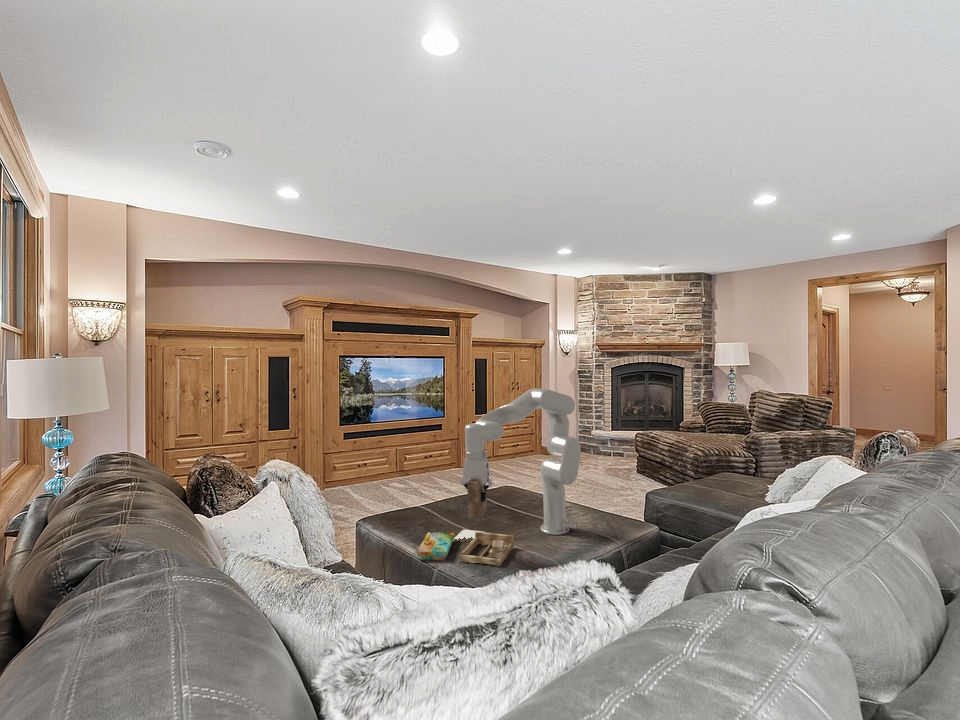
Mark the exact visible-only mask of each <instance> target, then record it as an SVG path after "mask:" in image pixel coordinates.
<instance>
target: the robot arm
mask: <svg viewBox="0 0 960 720" xmlns="http://www.w3.org/2000/svg"><path fill="white" fill-rule="evenodd" d="M537 409H539V410H540V409H541V410H543V411H544V412H545V413H546V414H547V417H548V419H549V430H548V435H547V436H548V437H547V444H546V447H547V448H546V449H547V452H548V453H549V454H550V455H553V456H555V457H560V458H561V459H558V458H554V457H549V458H546V459H544V460H542V462H541V464H540V476H541V477H540V478H541V481H542V489H543V490H542V493H543V494H542V495H543V496H542V497H543V498H542V500H543V501H542V503H543V524H541V525H540V531H541V532H543V533H544V534H547V535H555V536H557V535H564V534H567V533H569V532H570V529H576V528H577V527H576V526H577V525H576V523H575V522H573V521H572V522H571V521H568V518H566V489H565V485H566V486H569V485H572V484H574V483H575V482H576V479H577V477H578V474H579V469H580V468H579V467H580V460H581V456H582V455H581V453H582V448H581V442H579V440H578V439H577V438H576V437H573V436H569V430H570V421H569V417H568V416H569V415H571V414H573V412H574V411H575V409H576V402H575V400H574V398H573V397H571V396H570V395H568V394H563V393H560V392H557V391H555V390H551V389H548V388H547V389H546V388H538V387H537V388H536V387H535V388H534V387H532V388H530V389H528V390H527V391H525V392H523V393H522V394H521V395H519V396H518V397H517V398H516V399H514V400H512V401H511V402H510V403H507V404H505V405H502V406H500V407H498V408H494V409H493V410H491V411H489V412H487V413H486V414H484V415H482V417H480V418H479V419H477V420H476V421H475V422H474V423H468V424H466V425H465V426H464V442H465V446H464V447H465V458H464V461H463V470H462V471H463V472H462V474H463V475H462V477H461V479H460V481H459V483H460V484H461V486H464V488H465V489H466V491H467V492H468V488H467V482H468V481H469V480H474V481H479V482H480V486H481V491H482V492H481V502H484V501H485V499H486V497H487V490H488V489H489V488H490V487H492V486H494V484H495V482H494V481H493V479H492V478H491V472H490V466H489V465H490V463H489V460H488V456H489V453H488V452H486V450H485V448H486V447H485V442H495V441H499V440H500V439H501V438H503V436H504V434H505V428H504V427H503V426H504V425H505V424H512V423H517V422H521V421H522V420H524V419H526V417H528V416H529V415H530V414H532V413H533V412H535V411H536V410H537ZM487 483H488V484H487Z"/></svg>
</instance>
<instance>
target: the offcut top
mask: <svg viewBox="0 0 960 720" xmlns="http://www.w3.org/2000/svg"><path fill="white" fill-rule="evenodd" d="M491 549H492V552H502V551H503V540H493V544H492V546H491Z"/></svg>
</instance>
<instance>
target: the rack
mask: <svg viewBox="0 0 960 720" xmlns="http://www.w3.org/2000/svg"><path fill="white" fill-rule="evenodd" d="M514 536H515V535H513V534H504V533H503V534H501V533H492V532H485V531H483V532H475V538H474V539H473V540H472V541H471V542H470V543H468V545H466V547H465V548H463V550H461V552H460V555H459V563H460V562H461V563H467V562H469V563H468V564H474V563H485V564H494V565H500V564H501V563H502V562H503V560H504V559H505V557H506V556H507V555H508V553H509V552H510V551H511V550H512V548H513V547H514V548H515V544H514V543H515V540H514V539H515V538H514ZM493 540H503V545H507V547H506V549H505V550H504V551H503V553H502V554H501V555H500V556H499V558H498V559H495V558H489V557H485V556H483V557H482V555H483V554H484V553H485V552H486V550H487V549H488V548H489V547H490V546H491V545H492V544H493ZM478 543H480V544H489V545H488V546H486V548H485V549H484V550H483V552H481V554H480V555H479V556H478V555H470V554H471V553H472V552H473V551H472V549H473V548H474V547H475V546H476V545H477V544H478ZM491 547H492V546H491ZM514 548H513V549H514ZM471 551H472V552H471ZM512 551H513V550H512ZM512 551H511V552H512ZM470 552H471V553H470ZM511 552H510V553H511ZM469 553H470V554H469ZM468 554H469V555H468ZM508 556H509V555H508ZM505 560H506V559H505ZM503 563H504V562H503ZM503 563H502V564H503Z"/></svg>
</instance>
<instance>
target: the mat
mask: <svg viewBox="0 0 960 720" xmlns="http://www.w3.org/2000/svg"><path fill="white" fill-rule="evenodd" d="M475 532H484V531H482V530H472V529H471V530H470V529H462V530H461V531H460V532H459V533H458V534H457V535H455V537H454V539H457V540H458V539H459V538H460V539H463V538H464V537H465V538H466V539H468V538H471V537H472V538H473V539H474V538H475ZM453 542H454V540H453Z"/></svg>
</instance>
